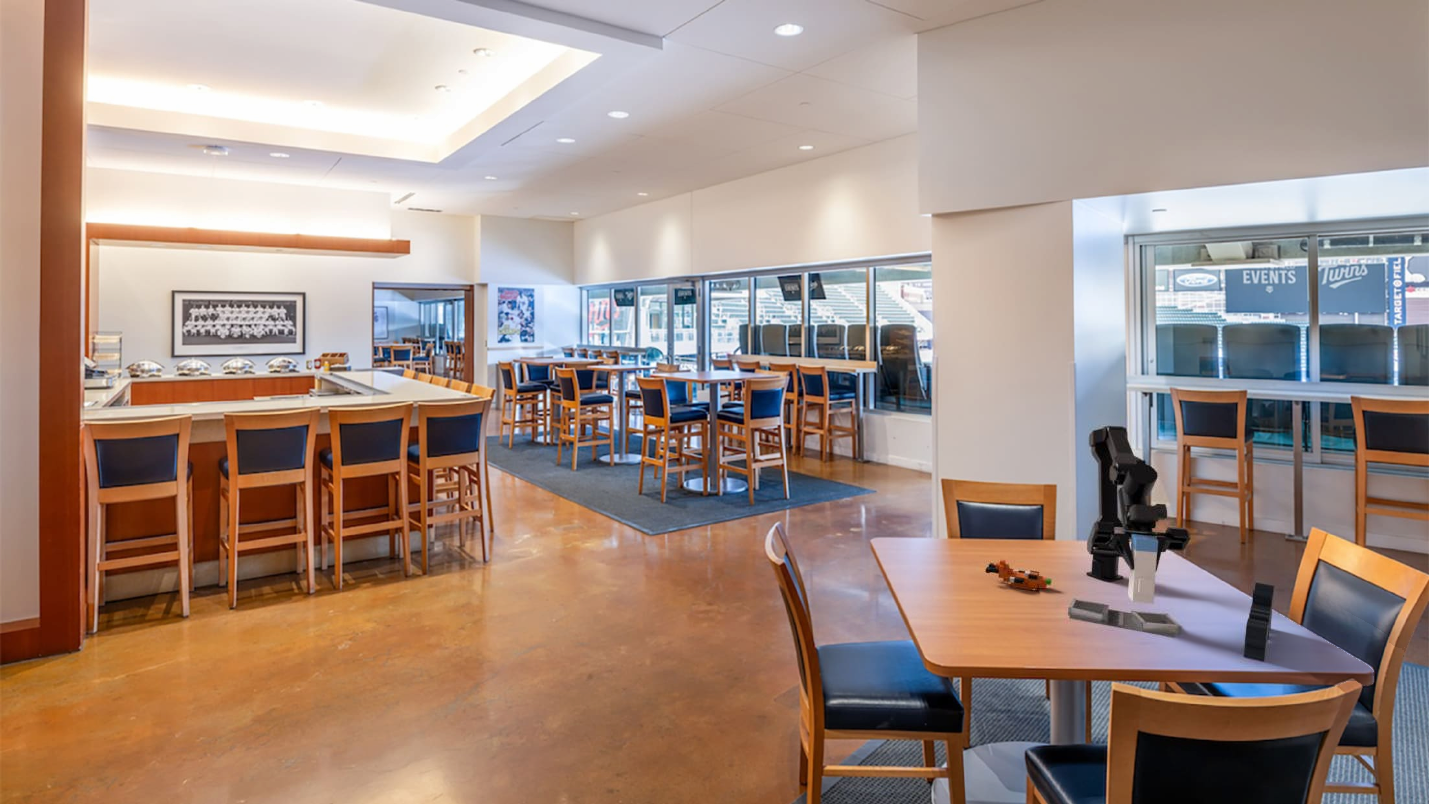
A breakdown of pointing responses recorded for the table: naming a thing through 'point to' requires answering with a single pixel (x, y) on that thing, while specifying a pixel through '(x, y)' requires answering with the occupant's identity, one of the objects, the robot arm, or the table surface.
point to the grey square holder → (1088, 614)
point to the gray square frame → (1157, 627)
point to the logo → (1259, 622)
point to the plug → (1143, 568)
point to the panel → (1122, 621)
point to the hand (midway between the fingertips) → (1144, 570)
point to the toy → (1018, 576)
